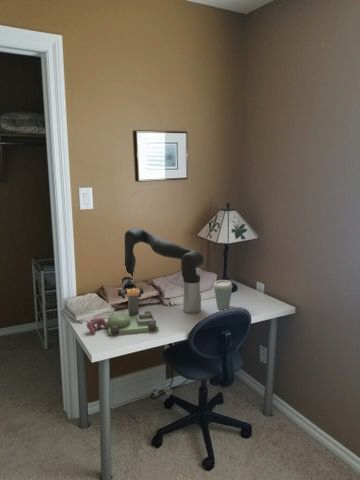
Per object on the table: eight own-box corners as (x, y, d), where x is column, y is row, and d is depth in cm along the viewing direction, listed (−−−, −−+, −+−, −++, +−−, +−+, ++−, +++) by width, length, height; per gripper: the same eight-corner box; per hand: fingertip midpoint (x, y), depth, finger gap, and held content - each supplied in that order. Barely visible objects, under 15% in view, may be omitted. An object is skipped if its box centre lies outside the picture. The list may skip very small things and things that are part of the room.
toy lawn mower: (153, 317, 207) (153, 308, 206) (158, 330, 191) (158, 321, 190) (107, 321, 202) (107, 312, 201) (108, 335, 186) (108, 325, 185)
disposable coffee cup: (231, 312, 214) (232, 286, 211) (211, 310, 216) (212, 284, 213) (232, 304, 224) (233, 280, 221) (214, 303, 226) (214, 278, 223)
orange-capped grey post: (138, 312, 213) (138, 288, 210) (139, 317, 207) (139, 292, 204) (127, 313, 212) (126, 289, 209) (128, 318, 206) (127, 293, 203)
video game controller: (104, 329, 197) (99, 315, 198) (109, 327, 194) (104, 314, 195) (88, 336, 189) (83, 322, 190) (94, 334, 186) (89, 320, 187)
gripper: (116, 281, 229) (118, 291, 213) (141, 280, 232) (144, 289, 216) (117, 294, 231) (119, 304, 215) (141, 292, 233) (144, 302, 218)
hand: (131, 296), depth 216 cm, fingers open, 8 cm apart
